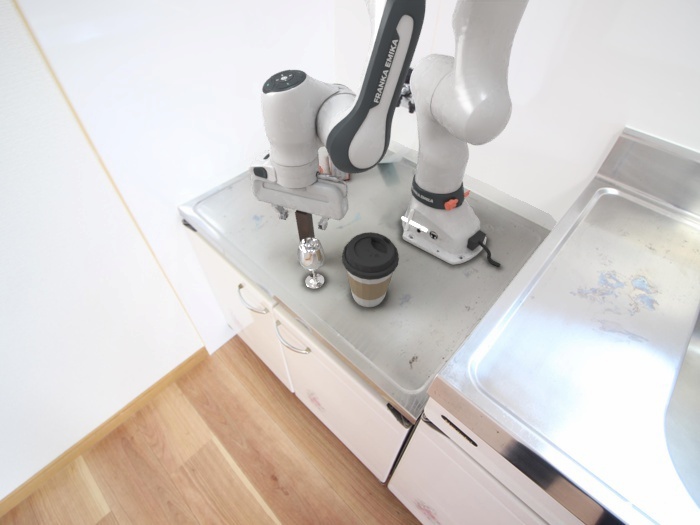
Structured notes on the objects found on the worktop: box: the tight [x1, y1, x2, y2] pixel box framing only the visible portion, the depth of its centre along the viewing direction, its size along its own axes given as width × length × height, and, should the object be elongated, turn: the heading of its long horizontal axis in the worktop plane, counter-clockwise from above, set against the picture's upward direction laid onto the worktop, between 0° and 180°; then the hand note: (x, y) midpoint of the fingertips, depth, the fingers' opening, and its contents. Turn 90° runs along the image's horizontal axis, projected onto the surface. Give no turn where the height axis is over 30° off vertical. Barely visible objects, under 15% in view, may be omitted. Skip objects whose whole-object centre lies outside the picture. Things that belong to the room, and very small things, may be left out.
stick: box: [294, 210, 316, 242], centre depth 78 cm, size 3×3×16 cm
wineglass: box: [297, 237, 326, 290], centre depth 75 cm, size 6×6×12 cm
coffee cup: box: [341, 232, 400, 308], centre depth 71 cm, size 11×11×15 cm
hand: (303, 222), depth 75 cm, fingers open, 8 cm apart
